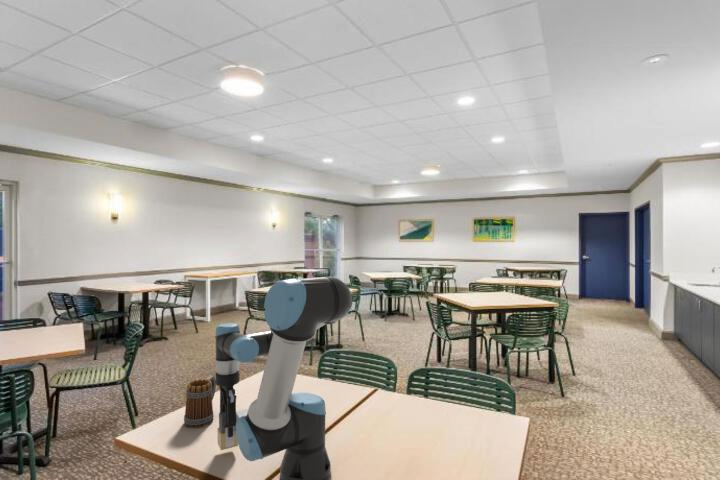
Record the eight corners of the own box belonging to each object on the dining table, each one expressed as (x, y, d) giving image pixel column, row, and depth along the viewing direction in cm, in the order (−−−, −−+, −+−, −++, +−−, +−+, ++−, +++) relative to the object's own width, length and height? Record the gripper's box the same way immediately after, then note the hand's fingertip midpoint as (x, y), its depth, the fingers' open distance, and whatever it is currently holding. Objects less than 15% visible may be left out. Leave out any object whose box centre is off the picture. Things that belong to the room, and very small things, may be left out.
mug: (203, 429, 147) (203, 389, 147) (177, 426, 149) (178, 386, 149) (225, 411, 162) (226, 375, 162) (202, 409, 164) (202, 373, 164)
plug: (238, 446, 130) (237, 415, 130) (220, 450, 128) (220, 418, 128) (234, 439, 135) (234, 409, 135) (217, 443, 132) (217, 412, 132)
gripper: (246, 377, 126) (246, 451, 125) (232, 362, 142) (232, 428, 141) (221, 381, 122) (221, 457, 121) (210, 365, 138) (210, 433, 137)
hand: (227, 441), depth 131 cm, fingers closed on plug, 5 cm apart
